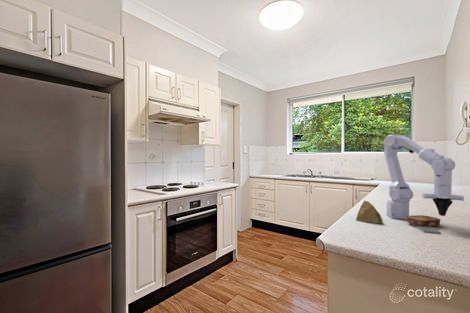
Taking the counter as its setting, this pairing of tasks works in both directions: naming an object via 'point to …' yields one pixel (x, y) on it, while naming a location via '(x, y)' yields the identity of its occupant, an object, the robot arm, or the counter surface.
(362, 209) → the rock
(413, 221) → the tin
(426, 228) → the gray sheet
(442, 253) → the counter surface
